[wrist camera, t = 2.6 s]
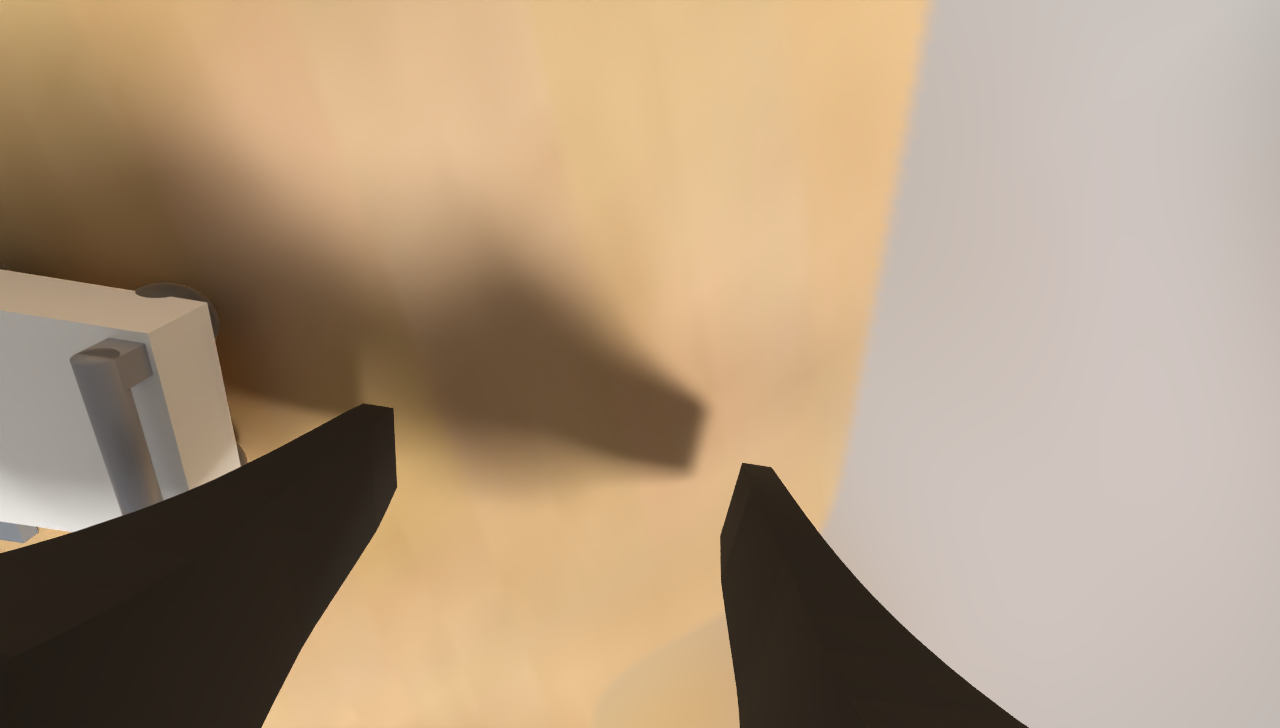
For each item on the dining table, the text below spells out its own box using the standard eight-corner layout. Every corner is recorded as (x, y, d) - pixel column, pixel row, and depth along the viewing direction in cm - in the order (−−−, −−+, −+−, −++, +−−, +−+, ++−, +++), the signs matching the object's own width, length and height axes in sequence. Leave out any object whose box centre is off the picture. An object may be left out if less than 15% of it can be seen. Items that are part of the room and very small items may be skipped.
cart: (275, 480, 14) (173, 590, 11) (23, 442, 14) (-147, 543, 11) (241, 279, 12) (99, 352, 9) (-65, 230, 12) (-312, 288, 9)
